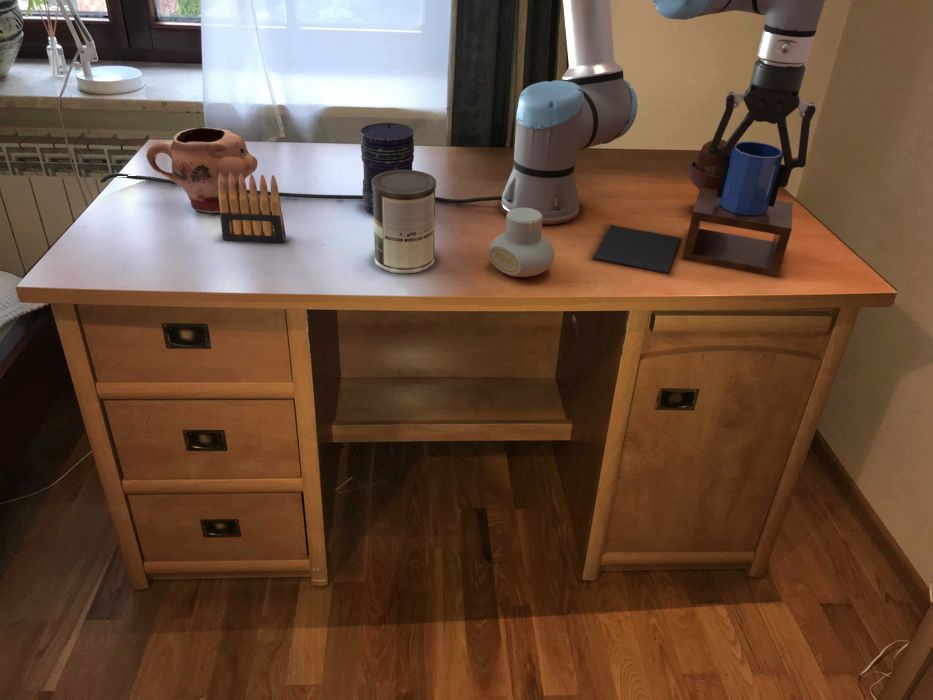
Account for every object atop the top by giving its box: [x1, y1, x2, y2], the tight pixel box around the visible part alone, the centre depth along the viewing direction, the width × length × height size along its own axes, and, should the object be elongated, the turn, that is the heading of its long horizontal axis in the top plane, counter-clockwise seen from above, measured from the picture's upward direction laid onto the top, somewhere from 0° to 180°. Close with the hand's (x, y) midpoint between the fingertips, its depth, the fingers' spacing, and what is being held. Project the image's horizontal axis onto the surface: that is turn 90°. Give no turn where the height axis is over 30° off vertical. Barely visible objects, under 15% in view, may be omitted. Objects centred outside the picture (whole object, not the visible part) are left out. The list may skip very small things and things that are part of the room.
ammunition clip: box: [218, 173, 287, 244], centre depth 130 cm, size 11×2×12 cm, turn 89°
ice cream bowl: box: [687, 139, 732, 190], centre depth 147 cm, size 11×11×15 cm
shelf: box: [681, 188, 794, 278], centre depth 134 cm, size 16×12×9 cm
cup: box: [719, 140, 783, 215], centre depth 128 cm, size 8×8×10 cm
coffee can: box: [372, 169, 437, 274], centre depth 125 cm, size 10×10×14 cm
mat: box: [592, 224, 681, 275], centre depth 136 cm, size 13×15×1 cm
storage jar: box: [360, 122, 415, 216], centre depth 143 cm, size 10×10×15 cm
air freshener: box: [488, 208, 555, 278], centre depth 125 cm, size 11×8×10 cm
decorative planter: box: [146, 127, 259, 213], centre depth 141 cm, size 20×12×14 cm, turn 95°
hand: (745, 199), depth 130 cm, fingers closed on cup, 8 cm apart
